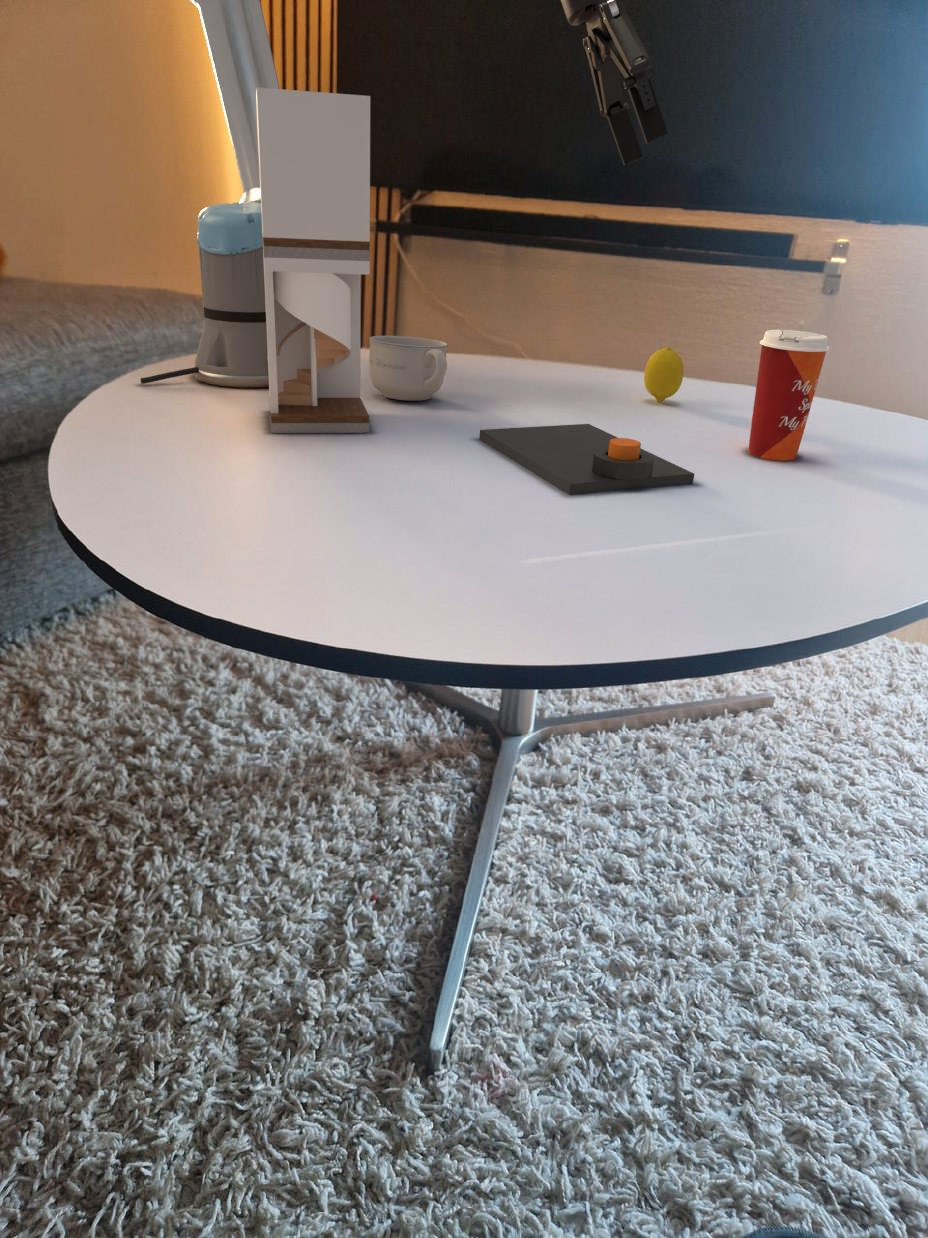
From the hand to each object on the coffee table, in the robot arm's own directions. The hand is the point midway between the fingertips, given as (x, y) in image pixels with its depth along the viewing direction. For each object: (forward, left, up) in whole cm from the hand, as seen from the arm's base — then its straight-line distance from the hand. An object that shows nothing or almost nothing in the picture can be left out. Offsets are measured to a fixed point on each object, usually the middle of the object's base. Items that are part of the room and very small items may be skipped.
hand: (644, 150), depth 118 cm
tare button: (-22, -36, -30) cm, 52 cm away
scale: (-22, -28, -33) cm, 48 cm away
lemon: (+6, -3, -33) cm, 33 cm away
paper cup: (+3, -31, -33) cm, 45 cm away
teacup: (-30, +5, -33) cm, 45 cm away
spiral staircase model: (-46, -5, -33) cm, 56 cm away
